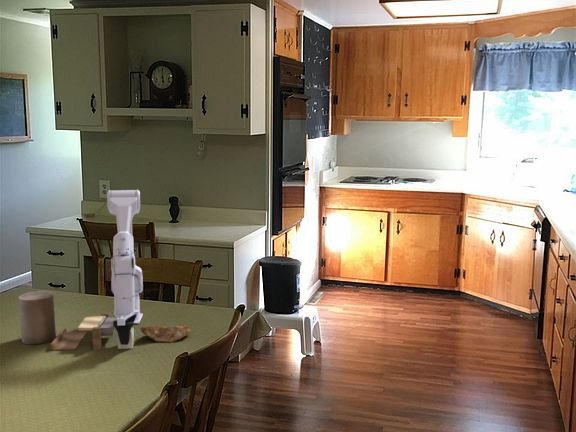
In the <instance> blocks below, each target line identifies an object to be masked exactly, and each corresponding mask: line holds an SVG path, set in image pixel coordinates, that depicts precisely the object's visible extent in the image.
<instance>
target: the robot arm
mask: <svg viewBox="0 0 576 432" xmlns="http://www.w3.org/2000/svg"><path fill="white" fill-rule="evenodd" d="M140 191H141V190H139V189H136V190H135V189H126V190H124V189H121V190H118V189H117V190H111V189H108V191H107V192H106V193H107V194H106V195H107V196H106V198H107V200H106V202H107V203H106V204H107V210H108V211H109V212H108V213H110V214H111V215H114V216H115V217H116V227H117V228H116V229H117V233H116V234H115V235H114V236H113V241H112V242H113V245H112V246H113V247H112V249H113V251H112V253H113V255H112V257H111V260H110V264H111V280H110V281H111V283H110V284H111V285H110V286H111V293H113V295H114V296H113V297H114V302H113V303H114V311H113V315H114V317H116V318H117V320H114V322H113V325H114V327H115V329H116V330H115V331H116V334H117V333H118V335H117V337H118V336H119V340H120V343H121V345H128V343H129V339H130V331H131V327H134V325H135V324H140V322H141V319H142V318H143V315H144V314H143V313H141V311H140V310H141V309H140V308H141V307H140V305H141V303H140V293H141V294H142V292H143V291H144V285H143V283H144V282H143V281H144V280H143V279H144V278H143V270H142V268H141V267H140V266H138V265H136V257H135V249H134V247H135V246H134V244H135V243H134V236H133V218H134V216H135V215H136V214H139V213H140V211H141V192H140Z"/></svg>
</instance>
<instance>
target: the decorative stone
mask: <svg viewBox="0 0 576 432" xmlns="http://www.w3.org/2000/svg"><path fill="white" fill-rule="evenodd" d="M140 332H141V333H142V334H144V336H145V335H146V336H147V337H149V338H150V339H152V340H154V341H156V342H158V343H159V342H160V343H161V342H162V343H175V342H177V341H178V340H181V339H182V338H185V337H186V336H187V335H189V334H190V333H191V332H192V329H191V328H190V327H189V326H180V325H175V326H165V327H164V326H163V325H153V324H152V325H146V326H142V327H141V328H140Z"/></svg>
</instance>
